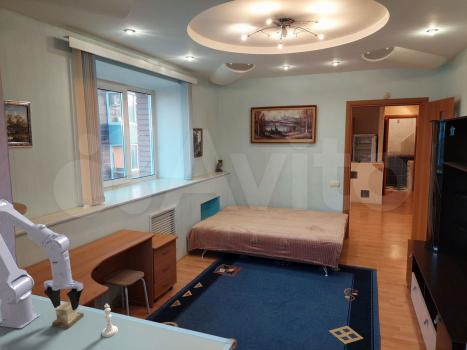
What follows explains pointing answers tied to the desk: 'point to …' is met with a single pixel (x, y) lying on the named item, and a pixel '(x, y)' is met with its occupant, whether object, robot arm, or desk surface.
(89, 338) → the desk surface
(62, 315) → the birch cube
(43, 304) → the desk surface
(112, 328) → the chess piece
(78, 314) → the brown framed square tile
